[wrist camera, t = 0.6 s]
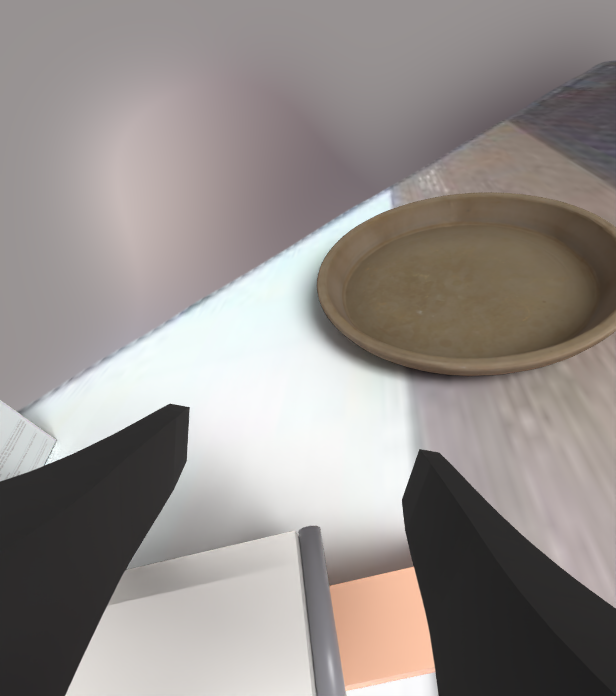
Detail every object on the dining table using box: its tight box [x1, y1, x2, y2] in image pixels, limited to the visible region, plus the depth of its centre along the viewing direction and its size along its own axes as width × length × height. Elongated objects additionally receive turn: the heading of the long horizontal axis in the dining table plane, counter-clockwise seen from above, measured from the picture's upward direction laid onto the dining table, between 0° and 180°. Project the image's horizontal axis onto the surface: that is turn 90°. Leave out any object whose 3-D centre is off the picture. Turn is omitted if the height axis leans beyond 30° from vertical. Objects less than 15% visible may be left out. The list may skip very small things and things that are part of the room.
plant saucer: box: [317, 192, 616, 376], centre depth 40 cm, size 31×31×5 cm
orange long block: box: [329, 567, 435, 691], centre depth 20 cm, size 4×16×5 cm, turn 98°
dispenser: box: [65, 526, 346, 696], centre depth 19 cm, size 8×15×8 cm, turn 98°
